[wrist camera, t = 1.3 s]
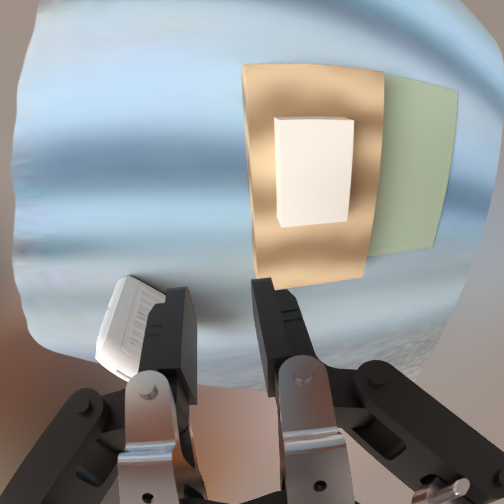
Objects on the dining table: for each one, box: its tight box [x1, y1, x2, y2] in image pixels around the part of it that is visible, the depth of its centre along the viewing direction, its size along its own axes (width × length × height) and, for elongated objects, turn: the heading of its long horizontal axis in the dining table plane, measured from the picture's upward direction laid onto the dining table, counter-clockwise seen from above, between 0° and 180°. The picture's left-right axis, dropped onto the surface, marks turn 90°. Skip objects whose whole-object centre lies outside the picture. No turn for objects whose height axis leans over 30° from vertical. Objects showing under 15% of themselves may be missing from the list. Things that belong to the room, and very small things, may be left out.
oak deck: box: [241, 63, 384, 290], centre depth 27 cm, size 22×12×4 cm, turn 3°
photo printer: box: [95, 276, 166, 382], centre depth 30 cm, size 10×4×12 cm, turn 49°
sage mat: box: [367, 74, 458, 257], centre depth 29 cm, size 22×13×1 cm, turn 3°
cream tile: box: [274, 116, 354, 228], centre depth 23 cm, size 9×6×2 cm, turn 3°
